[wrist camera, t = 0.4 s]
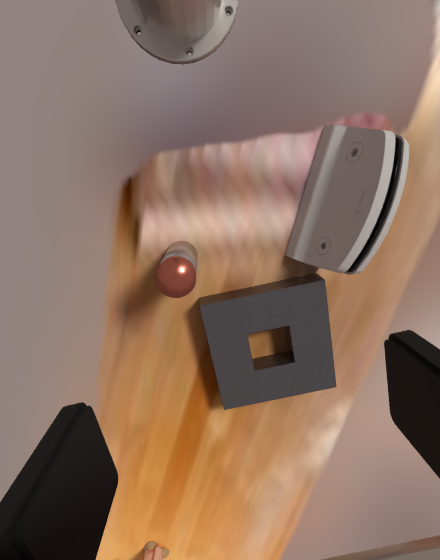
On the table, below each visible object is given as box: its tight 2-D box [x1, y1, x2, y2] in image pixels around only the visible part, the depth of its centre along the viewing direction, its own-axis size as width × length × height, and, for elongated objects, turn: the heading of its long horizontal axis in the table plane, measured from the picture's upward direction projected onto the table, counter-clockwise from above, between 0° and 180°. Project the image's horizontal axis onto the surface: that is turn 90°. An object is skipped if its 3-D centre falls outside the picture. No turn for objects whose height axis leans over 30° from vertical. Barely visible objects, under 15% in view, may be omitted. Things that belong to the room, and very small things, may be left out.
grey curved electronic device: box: [285, 125, 409, 274], centre depth 36 cm, size 17×5×10 cm, turn 167°
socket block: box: [199, 273, 336, 410], centre depth 44 cm, size 16×16×3 cm
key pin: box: [155, 241, 198, 298], centre depth 36 cm, size 4×4×10 cm
